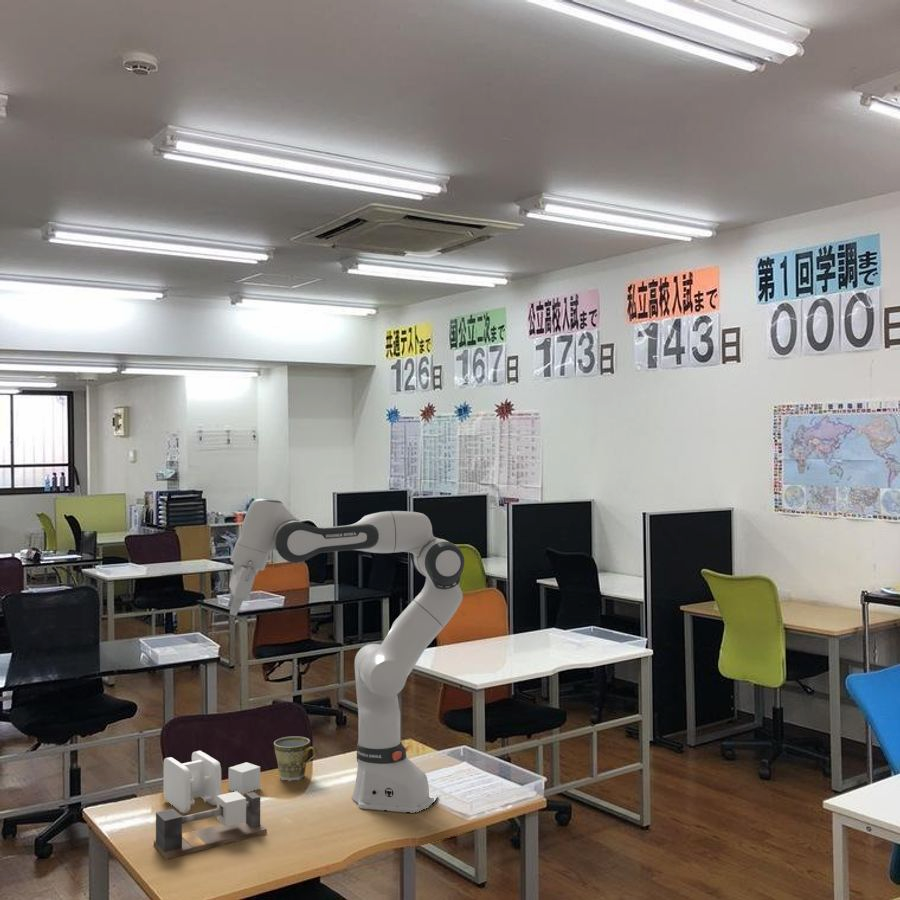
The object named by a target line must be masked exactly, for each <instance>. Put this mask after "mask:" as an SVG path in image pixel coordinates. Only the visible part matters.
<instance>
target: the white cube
mask: <svg viewBox="0 0 900 900" xmlns="http://www.w3.org/2000/svg"><path fill="white" fill-rule="evenodd" d="M221 807H223V814H222V815H218V816H216V820H217V821H218V822H220V823H221V824H223V825H224V826H225V827H227V826H231V825H235V824H239V823H244V822H246V796H245V795H241V794H240V793H238V792H237V791H236V792H233V791H231V792H228V793H221V795H218V796H217V804H216V809H217V808H221Z"/></svg>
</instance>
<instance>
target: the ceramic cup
mask: <svg viewBox="0 0 900 900" xmlns="http://www.w3.org/2000/svg"><path fill="white" fill-rule="evenodd" d="M310 745H311V740H310V739H309V738H307V737H304V736H285V737H281V738H278V739H276V740H274V742H273V747H274V754H275V758H276V762H277V763H276V764H277V767H278V768H277V769H278V774H279V778H280V780H282V779H283V780H282V781H284V780H297V781H300V780H302V779H304V778H305V773H306V767H307V764H308V763H309V762H310V761H312V759H314V758H315V757H316V756H317V754H318V752H317V749H316V747H315V746H310ZM310 750H313V751H314V754H313V756H312V757H310V758H309V759H308V756H309V751H310ZM303 777H304V778H303ZM301 778H302V779H301ZM299 779H300V780H299Z"/></svg>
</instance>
